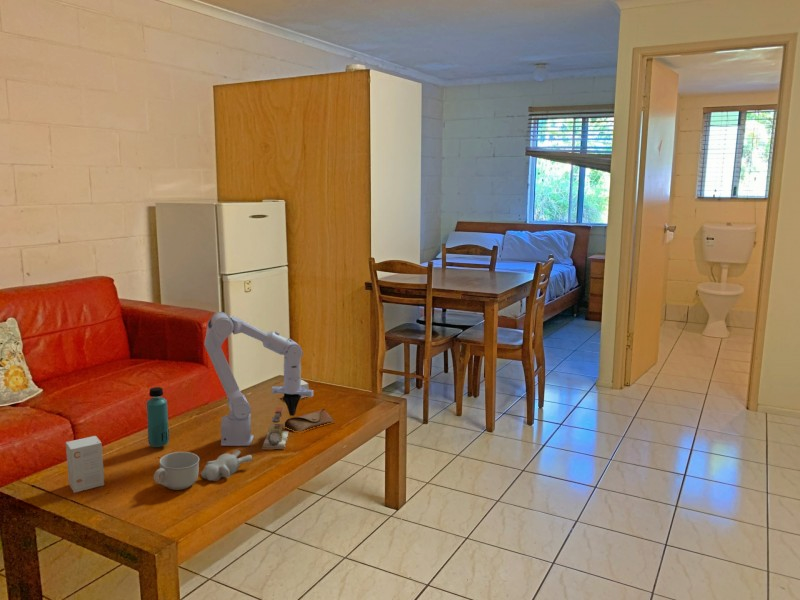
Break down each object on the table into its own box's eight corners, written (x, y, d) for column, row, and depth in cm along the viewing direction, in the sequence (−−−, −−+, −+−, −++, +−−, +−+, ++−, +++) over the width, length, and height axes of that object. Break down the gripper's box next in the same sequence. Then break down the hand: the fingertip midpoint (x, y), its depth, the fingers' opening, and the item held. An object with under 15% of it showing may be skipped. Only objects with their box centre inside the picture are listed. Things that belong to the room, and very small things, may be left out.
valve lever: (278, 423, 211) (278, 418, 211) (271, 423, 211) (271, 418, 211) (283, 412, 221) (283, 407, 221) (276, 412, 221) (276, 407, 221)
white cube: (302, 393, 262) (302, 379, 261) (308, 398, 257) (308, 383, 256) (288, 396, 258) (288, 381, 257) (295, 400, 254) (295, 386, 253)
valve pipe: (280, 446, 208) (280, 431, 207) (266, 446, 208) (266, 431, 207) (284, 433, 219) (284, 418, 218) (271, 433, 219) (271, 418, 218)
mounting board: (284, 449, 207) (284, 446, 207) (262, 449, 207) (262, 446, 207) (288, 434, 220) (288, 431, 220) (268, 433, 220) (268, 431, 219)
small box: (98, 477, 185) (96, 435, 183) (104, 485, 180) (102, 442, 178) (68, 484, 180) (65, 441, 178) (73, 493, 175) (70, 449, 173)
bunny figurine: (194, 464, 186) (234, 443, 198) (196, 480, 187) (236, 457, 199) (215, 474, 181) (255, 451, 192) (217, 489, 182) (256, 466, 194)
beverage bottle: (162, 452, 203) (160, 392, 199) (143, 450, 204) (140, 390, 200) (173, 444, 209) (171, 386, 205) (155, 442, 210) (152, 384, 206)
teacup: (186, 472, 189) (185, 447, 188) (207, 484, 183) (207, 458, 181) (142, 489, 179) (141, 462, 177) (163, 502, 172) (162, 474, 170)
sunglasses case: (298, 434, 220) (292, 416, 221) (288, 439, 224) (282, 421, 226) (338, 421, 232) (332, 404, 234) (328, 426, 237) (322, 409, 238)
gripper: (316, 375, 218) (316, 412, 221) (276, 371, 221) (277, 408, 224) (309, 381, 211) (309, 419, 214) (268, 377, 214) (269, 415, 217)
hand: (292, 414), depth 218 cm, fingers closed
